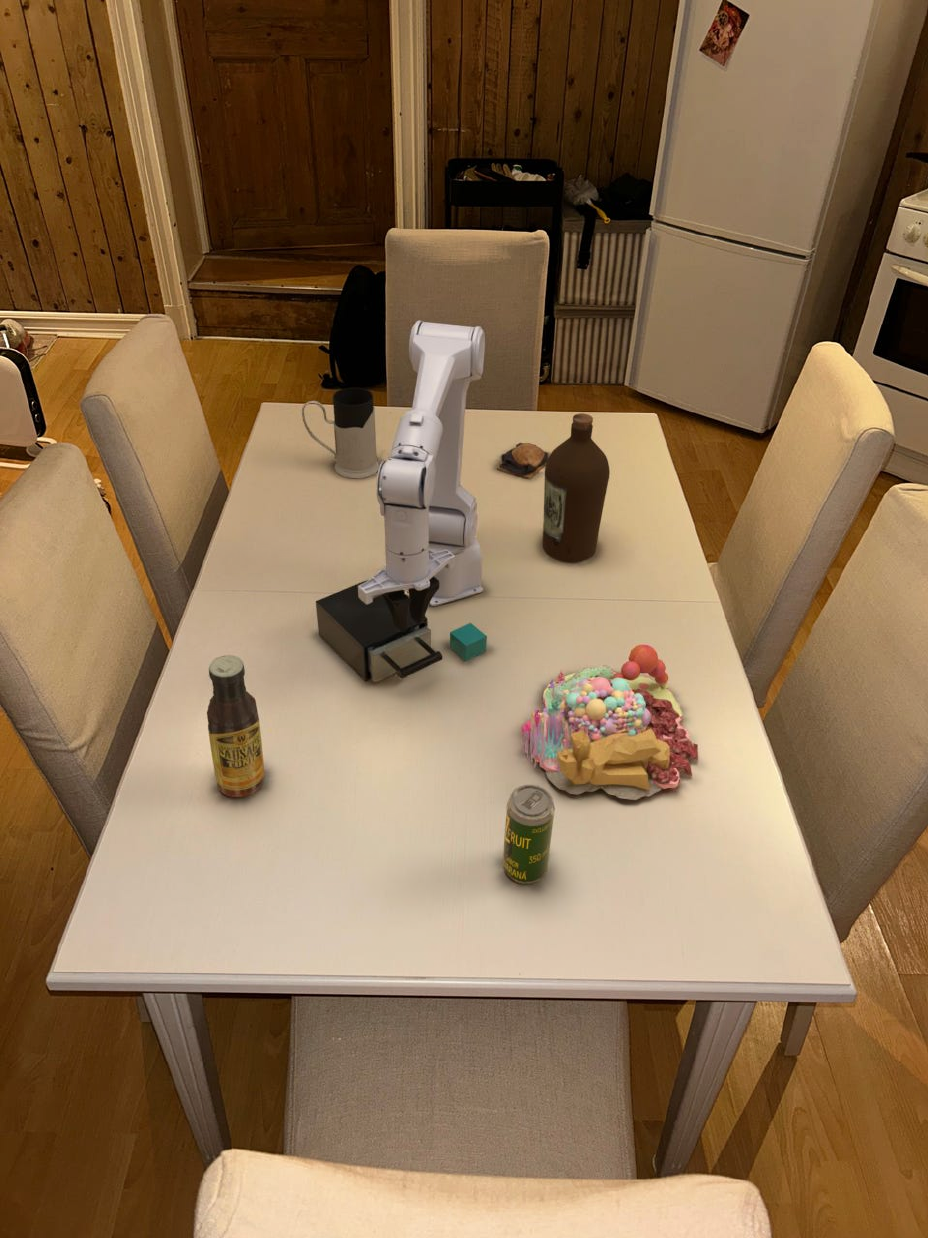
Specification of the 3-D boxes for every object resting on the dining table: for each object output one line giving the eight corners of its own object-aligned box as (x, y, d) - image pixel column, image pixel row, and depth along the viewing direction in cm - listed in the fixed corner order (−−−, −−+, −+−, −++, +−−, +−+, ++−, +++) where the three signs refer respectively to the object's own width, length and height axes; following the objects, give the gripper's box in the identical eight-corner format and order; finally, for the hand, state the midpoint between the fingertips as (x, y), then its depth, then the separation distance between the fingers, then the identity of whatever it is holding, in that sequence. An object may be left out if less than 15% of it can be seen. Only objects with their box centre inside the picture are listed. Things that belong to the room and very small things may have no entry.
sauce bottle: (225, 807, 121) (201, 691, 108) (211, 773, 125) (187, 659, 113) (274, 789, 123) (257, 674, 111) (259, 757, 127) (241, 643, 115)
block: (470, 637, 148) (470, 622, 146) (486, 651, 145) (486, 635, 144) (449, 647, 146) (449, 632, 144) (465, 661, 143) (465, 646, 142)
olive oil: (581, 526, 173) (596, 398, 157) (610, 557, 165) (629, 426, 150) (528, 537, 170) (538, 408, 154) (555, 570, 162) (568, 438, 146)
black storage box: (427, 652, 145) (427, 618, 141) (365, 682, 139) (363, 647, 135) (379, 609, 153) (378, 575, 149) (318, 635, 147) (315, 601, 143)
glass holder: (377, 478, 184) (374, 407, 175) (303, 477, 184) (296, 405, 175) (381, 456, 191) (378, 386, 182) (310, 454, 191) (303, 384, 182)
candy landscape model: (719, 795, 124) (733, 745, 118) (542, 815, 121) (547, 765, 115) (657, 667, 143) (667, 619, 137) (503, 682, 140) (506, 634, 134)
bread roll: (518, 447, 196) (519, 430, 193) (555, 457, 192) (556, 441, 190) (492, 468, 188) (493, 452, 186) (530, 480, 185) (531, 463, 183)
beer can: (520, 841, 118) (526, 775, 110) (556, 865, 115) (564, 799, 107) (493, 869, 114) (497, 803, 107) (529, 894, 112) (536, 828, 104)
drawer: (450, 674, 140) (451, 647, 137) (394, 702, 135) (393, 675, 132) (385, 614, 150) (384, 588, 147) (330, 638, 146) (328, 612, 142)
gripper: (377, 577, 119) (381, 659, 128) (469, 538, 126) (467, 619, 135) (347, 550, 123) (352, 631, 132) (437, 515, 130) (437, 594, 139)
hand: (408, 623), depth 134 cm, fingers closed
